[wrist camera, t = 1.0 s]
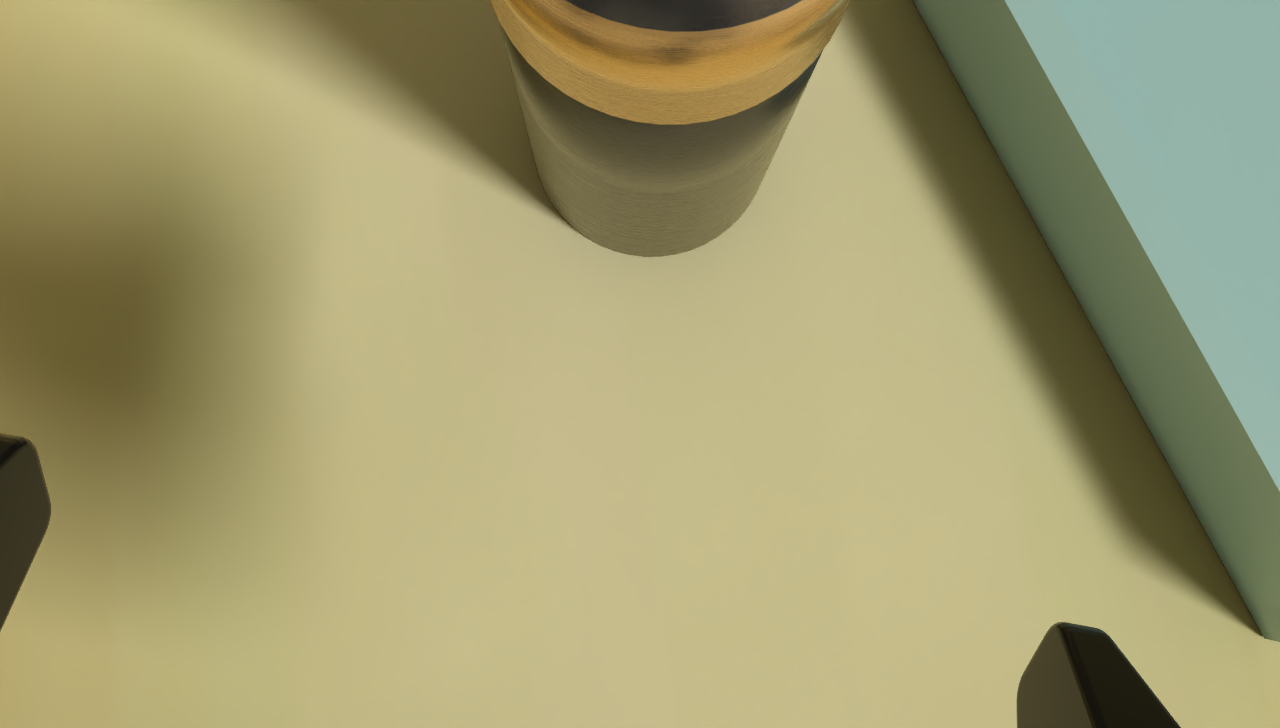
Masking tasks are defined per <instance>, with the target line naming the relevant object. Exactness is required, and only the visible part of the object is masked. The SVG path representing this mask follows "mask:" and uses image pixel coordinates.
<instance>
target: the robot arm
mask: <svg viewBox="0 0 1280 728" xmlns="http://www.w3.org/2000/svg"><path fill="white" fill-rule="evenodd" d="M50 515H51V503H50V498H49V494H48V490H47V487H46V483H45V479H44V475H43V472H42V468H41V464H40V460H39V457H38V453H37V450H36V447H35V446H34V445H33V444H32V442H31V441H30V440H28V439H26V438H23V437H18V436H12V435H6V434H1V433H0V631H1V629H2V627H3V625H4V622H5V620H6V618H7V616H8V614H9V611H10V609H11V607H12V605H13V603H14V601H15V598H16V596H17V594H18V592H19V590H20V587H21V585H22V583H23V581H24V579H25V577H26V574H27V572H28V570H29V568H30V566H31V563H32V561H33V559H34V557H35V555H36V553H37V550H38V548H39V546H40V544H41V542H42V539H43V537H44V535H45V533H46V530H47V528H48V524H49V521H50ZM1017 728H1181V727H1180V726H1179V725H1178V724H1177V722H1176V721H1175V720H1174V718H1173V717H1172V716H1171V715H1170V713H1169V712H1168V711H1167V709H1166V708H1165V707H1164V706H1163V704H1162V703H1161V702H1160V700H1159V699H1158V698H1157V697H1156V695H1155V694H1154V693H1153V691H1152V690H1151V689H1150V688H1149V686H1148V685H1147V684H1146V683H1145V681H1144V680H1143V679H1142V677H1141V676H1140V675H1139V674H1138V672H1137V671H1136V670H1135V668H1134V667H1133V666H1132V665H1131V663H1130V662H1129V661H1128V659H1127V658H1126V657H1125V656H1124V654H1123V653H1122V652H1121V650H1120V649H1119V648H1118V647H1117V645H1116V644H1115V643H1114V641H1113V640H1112V639H1111V638H1110V637H1109V636H1108V635H1107V634H1106V633H1105V632H1104V631H1102V630H1100V629H1097V628H1094V627H1088V626H1082V625H1077V624H1071V623H1066V622H1058V623H1056V624H1054V625H1053V626H1051V627H1050V629H1049V630H1048V631H1047V633H1046V635H1045V636H1044V638H1043V640H1042V642H1041V643H1040V645H1039V647H1038V649H1037V650H1036V652H1035V654H1034V655H1033V657H1032V659H1031V661H1030V662H1029V664H1028V666H1027V668H1026V669H1025V671H1024V673H1023V675H1022V677H1021V680H1020V683H1019V687H1018V692H1017Z"/></svg>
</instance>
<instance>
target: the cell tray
mask: <svg viewBox="0 0 1280 728" xmlns="http://www.w3.org/2000/svg"><path fill="white" fill-rule="evenodd" d="M912 1H913V2H914V4H915V6H916V8H917V10H918V12H919V13H920V15H921V17H922V19H923V21H924V22H925V24H926V26H927V28H928V30H929V31H930V33H931V35H932V37H933V39H934V41H935V42H936V44H937V46H938V48H939V50H940V51H941V53H942V55H943V57H944V59H945V60H946V62H947V64H948V66H949V68H950V70H951V71H952V73H953V75H954V77H955V79H956V80H957V82H958V84H959V86H960V88H961V89H962V91H963V93H964V95H965V97H966V99H967V100H968V102H969V104H970V106H971V108H972V109H973V111H974V113H975V115H976V117H977V118H978V120H979V122H980V124H981V126H982V128H983V129H984V131H985V133H986V135H987V137H988V138H989V140H990V142H991V144H992V146H993V147H994V149H995V151H996V153H997V155H998V157H999V158H1000V160H1001V162H1002V164H1003V166H1004V167H1005V169H1006V171H1007V173H1008V175H1009V176H1010V178H1011V180H1012V182H1013V184H1014V186H1015V187H1016V189H1017V191H1018V193H1019V195H1020V196H1021V198H1022V200H1023V202H1024V204H1025V205H1026V207H1027V209H1028V211H1029V213H1030V215H1031V216H1032V218H1033V220H1034V222H1035V224H1036V225H1037V227H1038V229H1039V231H1040V233H1041V234H1042V236H1043V238H1044V240H1045V242H1046V244H1047V245H1048V247H1049V249H1050V251H1051V253H1052V254H1053V256H1054V258H1055V260H1056V262H1057V263H1058V265H1059V267H1060V269H1061V271H1062V273H1063V274H1064V276H1065V278H1066V280H1067V282H1068V283H1069V285H1070V287H1071V289H1072V291H1073V292H1074V294H1075V296H1076V298H1077V300H1078V302H1079V303H1080V305H1081V307H1082V309H1083V311H1084V312H1085V314H1086V316H1087V318H1088V320H1089V321H1090V323H1091V325H1092V327H1093V329H1094V331H1095V332H1096V334H1097V336H1098V338H1099V340H1100V341H1101V343H1102V345H1103V347H1104V349H1105V350H1106V352H1107V354H1108V356H1109V358H1110V360H1111V361H1112V363H1113V365H1114V367H1115V369H1116V370H1117V372H1118V374H1119V376H1120V378H1121V379H1122V381H1123V383H1124V385H1125V387H1126V389H1127V390H1128V392H1129V394H1130V396H1131V398H1132V399H1133V401H1134V403H1135V405H1136V407H1137V408H1138V410H1139V412H1140V414H1141V416H1142V418H1143V419H1144V421H1145V423H1146V425H1147V427H1148V428H1149V430H1150V432H1151V434H1152V436H1153V437H1154V439H1155V441H1156V443H1157V445H1158V447H1159V448H1160V450H1161V452H1162V454H1163V456H1164V457H1165V459H1166V461H1167V463H1168V465H1169V466H1170V468H1171V470H1172V472H1173V474H1174V476H1175V477H1176V479H1177V481H1178V483H1179V485H1180V486H1181V488H1182V490H1183V492H1184V494H1185V495H1186V497H1187V499H1188V501H1189V503H1190V505H1191V506H1192V508H1193V510H1194V512H1195V514H1196V515H1197V517H1198V519H1199V521H1200V523H1201V524H1202V526H1203V528H1204V530H1205V532H1206V534H1207V535H1208V537H1209V539H1210V541H1211V543H1212V544H1213V546H1214V548H1215V550H1216V552H1217V553H1218V555H1219V557H1220V559H1221V561H1222V563H1223V564H1224V566H1225V568H1226V570H1227V572H1228V573H1229V575H1230V577H1231V579H1232V581H1233V582H1234V584H1235V586H1236V588H1237V590H1238V592H1239V593H1240V595H1241V597H1242V599H1243V601H1244V602H1245V604H1246V606H1247V608H1248V610H1249V611H1250V613H1251V615H1252V617H1253V619H1254V621H1255V622H1256V624H1257V626H1258V628H1259V630H1260V631H1261V633H1262V635H1263V637H1264V638H1265V639H1270V640H1274V641H1278V642H1280V0H912Z"/></svg>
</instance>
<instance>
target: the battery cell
mask: <svg viewBox="0 0 1280 728" xmlns="http://www.w3.org/2000/svg"><path fill="white" fill-rule="evenodd" d="M490 1H491V3H492V6H493V8H494V10H495V13H496V15H497V17H498V19H499V23H500V27H501V31H502V35H503V39H504V43H505V47H506V51H507V54H508V58H509V62H510V66H511V70H512V74H513V78H514V82H515V86H516V89H517V93H518V97H519V101H520V105H521V109H522V113H523V117H524V121H525V125H526V128H527V132H528V136H529V140H530V144H531V148H532V152H533V156H534V160H535V163H536V167H537V171H538V174H539V178H540V181H541V183H542V185H543V188H544V190H545V192H546V194H547V196H548V197H549V199H550V201H551V203H552V204H553V206H554V207H555V208H556V210H557V211H558V212H559V213H560V215H561V216H562V217H563V218H564V219H565V220H566V221H567V222H568V223H569V224H570V225H571V226H572V227H573V228H574V229H575V230H577V231H578V232H579V233H581V234H582V235H583V236H585V237H586V238H588V239H590V240H591V241H593V242H595V243H597V244H599V245H601V246H603V247H606V248H608V249H611V250H613V251H617V252H621V253H624V254H628V255H636V256H644V257H656V256H667V255H674V254H679V253H682V252H686V251H690V250H692V249H695V248H697V247H699V246H702V245H704V244H706V243H708V242H709V241H711V240H713V239H715V238H716V237H718V236H719V235H721V234H722V233H723V232H724V231H726V230H727V229H728V228H730V227H731V226H732V225H733V224H734V223H735V222H736V221H737V220H738V219H739V217H740V216H741V215H742V214H743V213H744V211H745V210H746V209H747V207H748V206H749V205H750V203H751V201H752V199H753V197H754V196H755V194H756V192H757V190H758V188H759V186H760V184H761V182H762V179H763V177H764V175H765V173H766V171H767V169H768V167H769V165H770V162H771V160H772V158H773V156H774V154H775V152H776V150H777V147H778V145H779V143H780V141H781V139H782V137H783V135H784V132H785V130H786V128H787V126H788V124H789V122H790V120H791V117H792V115H793V113H794V111H795V109H796V107H797V105H798V103H799V100H800V98H801V96H802V94H803V92H804V90H805V88H806V85H807V83H808V81H809V79H810V77H811V75H812V73H813V70H814V68H815V66H816V64H817V62H818V60H819V58H820V55H821V53H822V51H823V49H824V48H825V46H826V45H827V44H828V42H829V41H830V39H831V37H832V36H833V34H834V32H835V30H836V29H837V27H838V25H839V23H840V21H841V19H842V17H843V15H844V13H845V11H846V9H847V7H848V5H849V3H850V0H490Z"/></svg>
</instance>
